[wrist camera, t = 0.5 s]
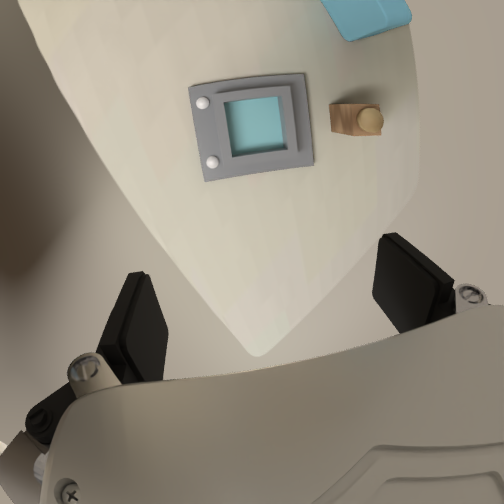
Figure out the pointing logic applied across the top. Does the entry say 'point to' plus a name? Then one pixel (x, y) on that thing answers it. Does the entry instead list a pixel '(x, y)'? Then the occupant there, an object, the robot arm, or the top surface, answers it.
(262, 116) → the frame
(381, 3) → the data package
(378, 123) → the wooden block with knob
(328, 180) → the top surface
